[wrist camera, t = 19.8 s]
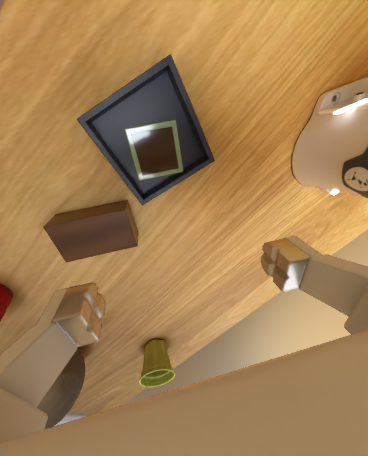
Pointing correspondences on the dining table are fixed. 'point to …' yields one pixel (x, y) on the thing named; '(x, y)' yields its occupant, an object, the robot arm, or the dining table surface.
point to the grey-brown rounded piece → (64, 390)
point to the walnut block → (93, 231)
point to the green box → (155, 149)
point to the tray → (144, 115)
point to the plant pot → (156, 365)
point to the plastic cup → (4, 299)
